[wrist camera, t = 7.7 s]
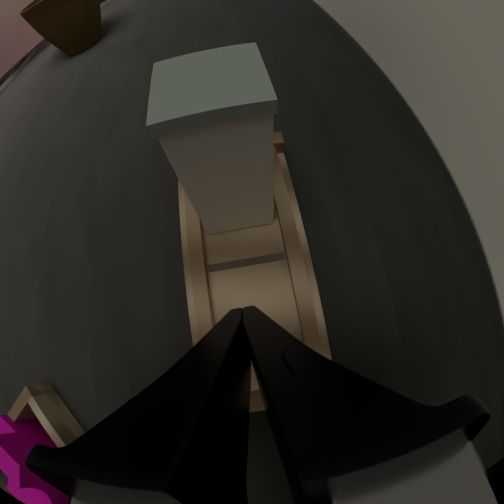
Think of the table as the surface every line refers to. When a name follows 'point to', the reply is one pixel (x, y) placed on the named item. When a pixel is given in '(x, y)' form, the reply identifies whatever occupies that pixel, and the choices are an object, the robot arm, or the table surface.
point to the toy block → (14, 456)
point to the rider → (218, 132)
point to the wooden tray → (254, 270)
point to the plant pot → (66, 23)
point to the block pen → (45, 416)
